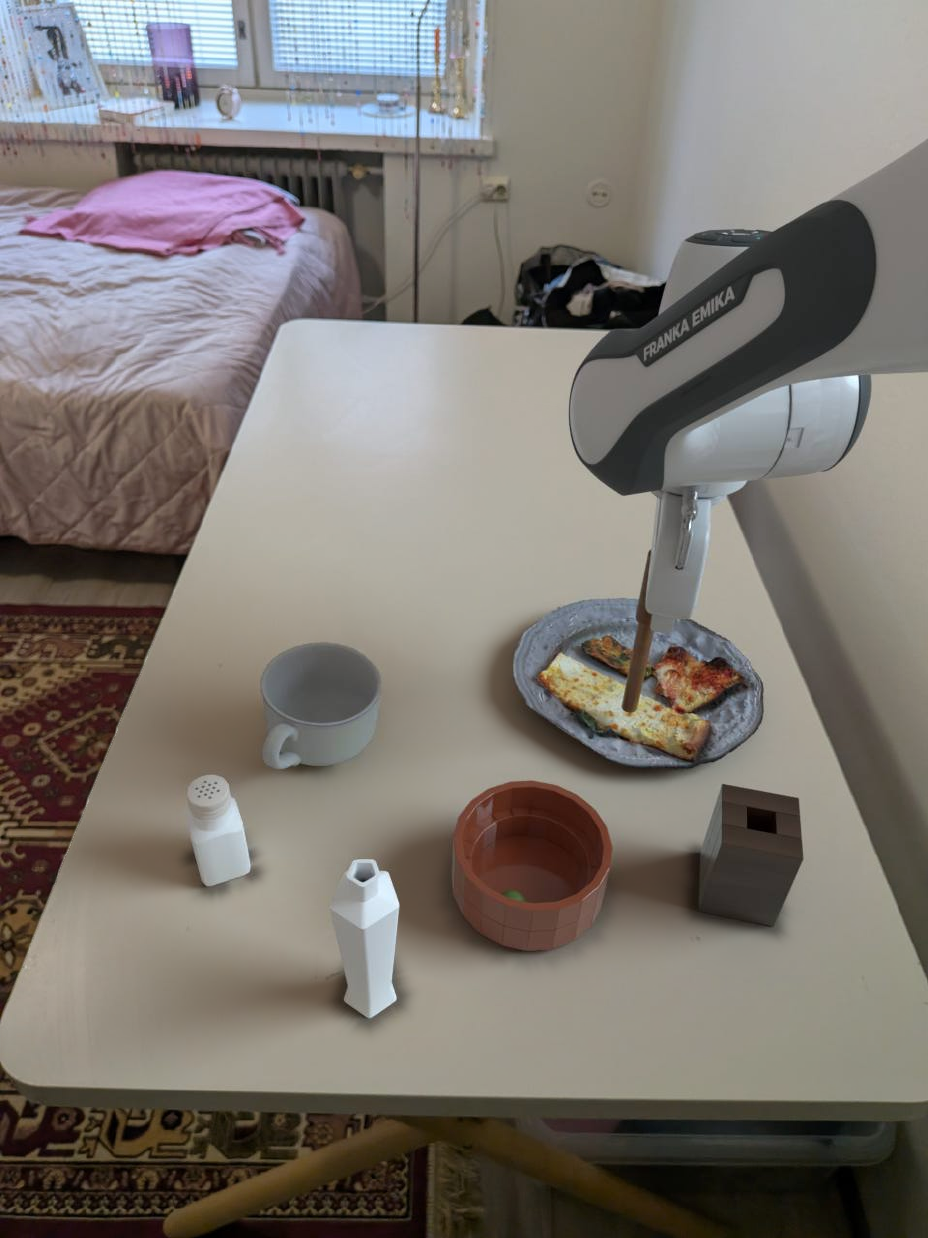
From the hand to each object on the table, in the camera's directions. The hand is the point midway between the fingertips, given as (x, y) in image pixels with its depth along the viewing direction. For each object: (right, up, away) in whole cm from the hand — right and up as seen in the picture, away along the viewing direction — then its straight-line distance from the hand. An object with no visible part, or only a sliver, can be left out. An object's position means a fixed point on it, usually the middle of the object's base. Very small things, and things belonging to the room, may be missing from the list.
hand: (663, 593), depth 79 cm
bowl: (-12, -24, -3) cm, 27 cm away
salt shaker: (-37, -23, -2) cm, 44 cm away
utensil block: (+6, -25, -2) cm, 25 cm away
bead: (-13, -25, -6) cm, 29 cm away
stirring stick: (-1, -11, +10) cm, 14 cm away
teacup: (-31, -15, +8) cm, 35 cm away
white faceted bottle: (-24, -30, -10) cm, 40 cm away
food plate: (+1, -10, +16) cm, 19 cm away
